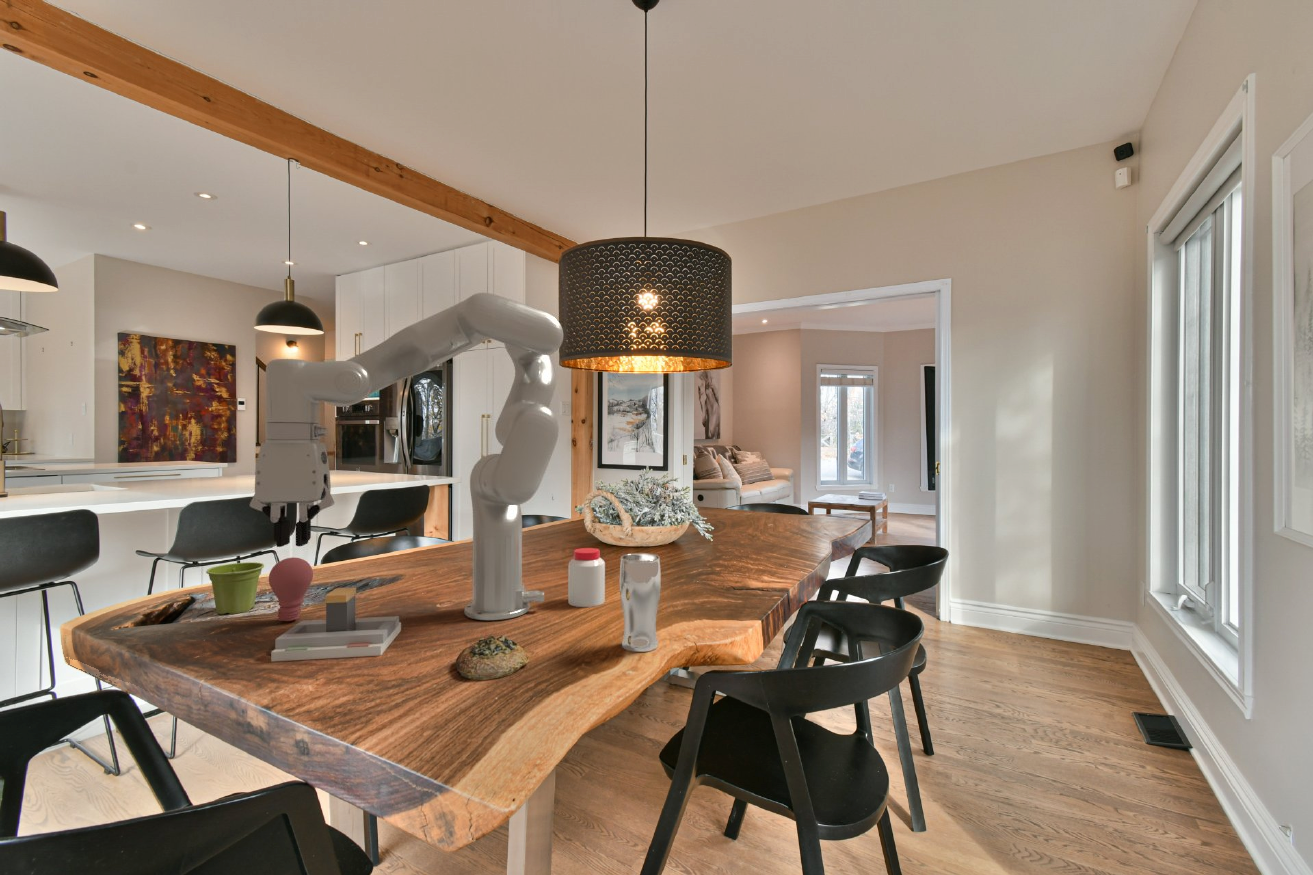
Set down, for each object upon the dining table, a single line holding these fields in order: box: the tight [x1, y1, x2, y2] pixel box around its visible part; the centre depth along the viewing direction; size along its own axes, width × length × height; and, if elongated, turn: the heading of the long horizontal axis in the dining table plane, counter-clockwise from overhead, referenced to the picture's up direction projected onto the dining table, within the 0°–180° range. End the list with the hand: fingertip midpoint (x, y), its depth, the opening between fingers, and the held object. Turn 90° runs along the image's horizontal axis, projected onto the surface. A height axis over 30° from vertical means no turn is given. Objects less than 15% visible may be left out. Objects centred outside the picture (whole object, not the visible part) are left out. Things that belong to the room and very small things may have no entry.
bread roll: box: [455, 634, 530, 682], centre depth 88 cm, size 11×11×5 cm
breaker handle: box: [324, 587, 357, 632], centre depth 97 cm, size 3×5×7 cm
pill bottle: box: [567, 547, 606, 608], centre depth 123 cm, size 8×8×11 cm
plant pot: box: [205, 561, 265, 615], centre depth 116 cm, size 9×9×9 cm
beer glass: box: [619, 552, 662, 653], centre depth 97 cm, size 7×7×15 cm
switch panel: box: [270, 615, 402, 662], centre depth 97 cm, size 16×12×3 cm
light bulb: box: [268, 557, 314, 622], centre depth 109 cm, size 7×7×12 cm
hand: (292, 544), depth 96 cm, fingers closed
